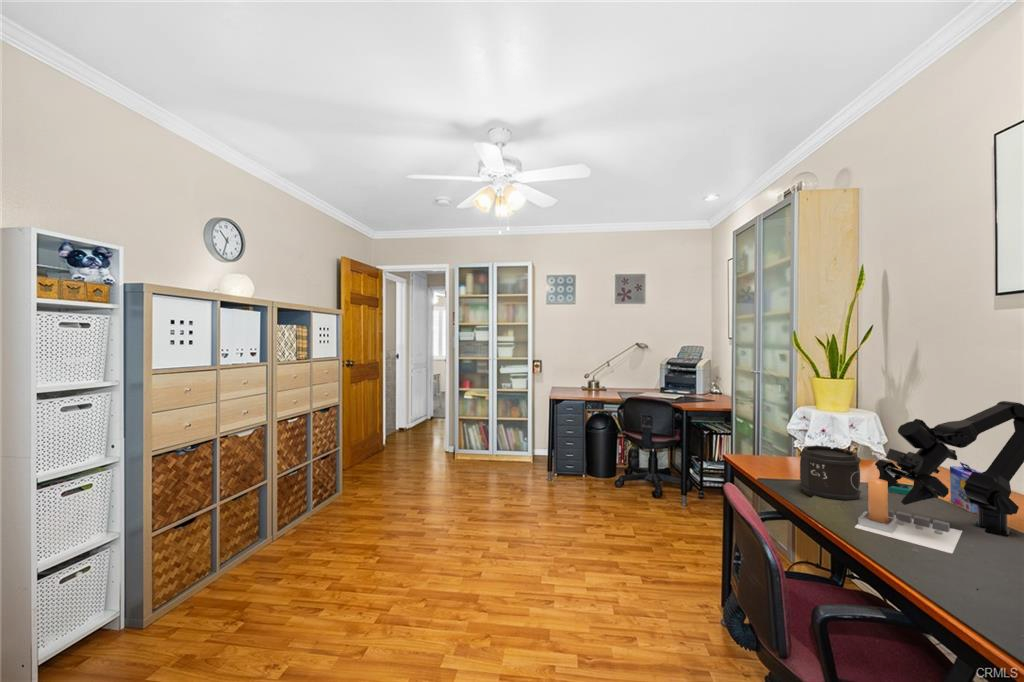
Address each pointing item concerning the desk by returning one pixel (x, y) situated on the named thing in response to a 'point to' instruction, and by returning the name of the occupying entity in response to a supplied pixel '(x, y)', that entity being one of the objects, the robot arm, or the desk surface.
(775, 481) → the desk surface
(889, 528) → the socket collar
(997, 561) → the desk surface
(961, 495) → the ink cartridge box
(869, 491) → the plug
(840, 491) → the black drum container
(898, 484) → the digital multimeter
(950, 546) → the breaker panel
